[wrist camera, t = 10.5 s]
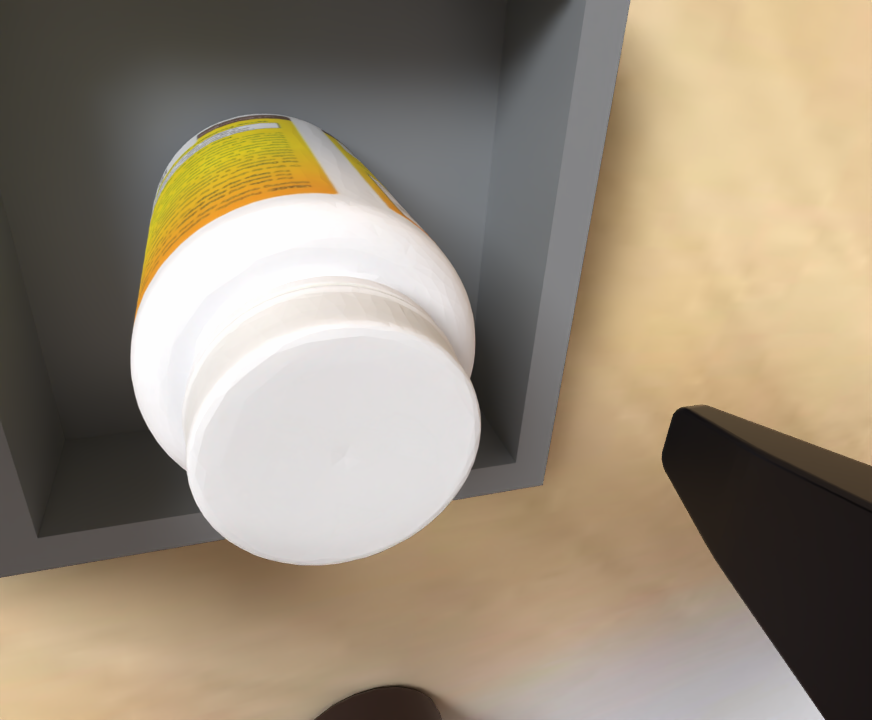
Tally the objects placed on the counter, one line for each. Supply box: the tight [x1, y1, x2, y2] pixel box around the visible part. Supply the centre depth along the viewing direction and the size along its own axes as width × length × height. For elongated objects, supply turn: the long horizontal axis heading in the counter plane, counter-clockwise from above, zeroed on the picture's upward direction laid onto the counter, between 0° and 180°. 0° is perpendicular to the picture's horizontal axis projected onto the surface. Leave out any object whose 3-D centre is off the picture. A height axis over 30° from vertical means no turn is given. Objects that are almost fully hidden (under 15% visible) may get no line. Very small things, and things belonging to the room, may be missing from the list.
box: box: [0, 0, 630, 578], centre depth 16 cm, size 14×14×4 cm
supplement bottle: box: [131, 114, 481, 565], centre depth 13 cm, size 6×6×10 cm
